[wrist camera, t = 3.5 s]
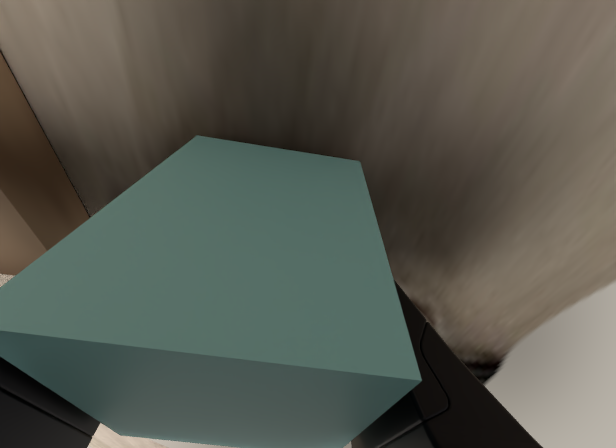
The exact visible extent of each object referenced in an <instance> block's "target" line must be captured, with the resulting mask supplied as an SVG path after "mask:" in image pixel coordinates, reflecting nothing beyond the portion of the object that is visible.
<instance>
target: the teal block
mask: <svg viewBox="0 0 616 448" xmlns="http://www.w3.org/2000/svg"><path fill="white" fill-rule="evenodd" d="M0 357H2V358H3V359H5V360H6V361H8V362H10V363H11V364H13V365H14V366H16V367H17V368H19V369H20V370H22V371H23V372H25V373H26V374H28V375H29V376H31V377H32V378H34V379H35V380H37V381H38V382H40V383H41V384H43V385H44V386H46V387H48V388H49V389H51V390H52V391H54V392H55V393H57V394H58V395H60V396H61V397H63V398H64V399H66V400H67V401H69V402H70V403H72V404H73V405H75V406H76V407H78V408H79V409H81V410H82V411H84V412H85V413H87V414H89V415H90V416H92V417H93V418H95V419H96V420H98V421H99V422H101V423H102V424H104V425H105V426H107V427H108V428H110V429H111V430H113V431H114V432H116V433H117V434H119V435H122V436H132V437H142V438H152V439H162V440H171V441H181V442H190V443H191V442H192V443H201V444H210V445H220V446H230V447H240V448H343V447H344V446H346V445H347V444H348V443H349V442H350V441H351V440H353V439H354V438H355V437H356V436H357V435H359V434H360V433H361V432H362V431H363V430H364V429H366V428H367V427H368V426H369V425H370V424H372V423H373V422H374V421H375V420H376V419H377V418H379V417H380V416H381V415H382V414H383V413H385V412H386V411H387V410H388V409H389V408H390V407H392V406H393V405H394V404H395V403H396V402H397V401H399V400H400V399H401V398H402V397H403V396H405V395H406V394H407V393H408V392H409V391H410V390H412V389H413V388H414V387H415V386H416V385H418V384H419V383H420V382H421V381H422V379H421V375H420V372H419V368H418V365H417V361H416V358H415V354H414V351H413V347H412V343H411V340H410V336H409V333H408V329H407V326H406V322H405V319H404V315H403V312H402V308H401V305H400V301H399V297H398V294H397V290H396V287H395V283H394V280H393V276H392V273H391V269H390V266H389V262H388V259H387V255H386V252H385V248H384V244H383V241H382V237H381V234H380V230H379V227H378V223H377V220H376V216H375V213H374V209H373V206H372V202H371V198H370V195H369V191H368V188H367V184H366V181H365V177H364V174H363V170H362V167H361V163H360V161H355V160H349V159H343V158H336V157H330V156H324V155H317V154H311V153H305V152H299V151H292V150H286V149H280V148H273V147H267V146H261V145H255V144H248V143H242V142H236V141H229V140H223V139H217V138H211V137H204V136H198V135H197V136H195V137H194V138H193V139H192V140H190V141H189V142H188V143H186V144H185V145H184V146H183V147H181V148H180V149H179V150H177V151H176V152H175V153H173V154H172V155H171V156H170V157H168V158H167V159H166V160H164V161H163V162H162V163H161V164H159V165H158V166H157V167H155V168H154V169H153V170H152V171H150V172H149V173H148V174H146V175H145V176H144V177H142V178H141V179H140V180H139V181H137V182H136V183H135V184H133V185H132V186H131V187H130V188H128V189H127V190H126V191H124V192H123V193H122V194H121V195H119V196H118V197H117V198H115V199H114V200H113V201H111V202H110V203H109V204H108V205H106V206H105V207H104V208H102V209H101V210H100V211H99V212H97V213H96V214H95V215H93V216H92V217H91V218H89V219H88V220H87V221H86V222H84V223H83V224H82V225H80V226H79V227H78V228H77V229H75V230H74V231H73V232H71V233H70V234H69V235H68V236H66V237H65V238H64V239H62V240H61V241H60V242H58V243H57V244H56V245H55V246H53V247H52V248H51V249H49V250H48V251H47V252H46V253H44V254H43V255H42V256H40V257H39V258H38V259H37V260H35V261H34V262H33V263H31V264H30V265H29V266H27V267H26V268H25V269H24V270H22V271H21V272H20V273H18V274H17V275H16V276H15V277H13V278H12V279H11V280H9V281H8V282H7V283H5V284H4V285H3V286H2V287H0Z"/></svg>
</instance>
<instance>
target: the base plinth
mask: <svg viewBox="0 0 616 448" xmlns="http://www.w3.org/2000/svg"><path fill="white" fill-rule="evenodd" d="M88 219H89V216H88V214H87V212H86V210H85V208H84V206H83V205H82V203H81V201H80V199H79V197H78V195H77V193H76V192H75V190H74V188H73V186H72V184H71V182H70V180H69V179H68V177H67V175H66V173H65V171H64V169H63V167H62V166H61V164H60V162H59V160H58V158H57V156H56V154H55V153H54V151H53V149H52V147H51V145H50V143H49V142H48V140H47V138H46V136H45V134H44V132H43V130H42V129H41V127H40V125H39V123H38V121H37V119H36V117H35V116H34V114H33V112H32V110H31V108H30V106H29V104H28V103H27V101H26V99H25V97H24V95H23V93H22V91H21V90H20V88H19V86H18V84H17V82H16V80H15V79H14V77H13V75H12V73H11V71H10V69H9V67H8V66H7V64H6V62H5V60H4V58H3V56H2V54H1V53H0V274H7V275H15V276H16V275H17V274H18V273H20V272H21V271H22V270H24V269H25V268H26V267H27V266H29V265H30V264H31V263H33V262H34V261H35V260H37V259H38V258H39V257H40V256H42V255H43V254H44V253H46V252H47V251H48V250H49V249H51V248H52V247H53V246H55V245H56V244H57V243H58V242H60V241H61V240H62V239H64V238H65V237H66V236H68V235H69V234H70V233H71V232H73V231H74V230H75V229H77V228H78V227H79V226H80V225H82V224H83V223H84V222H86V221H87V220H88Z"/></svg>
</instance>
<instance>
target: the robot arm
mask: <svg viewBox="0 0 616 448" xmlns="http://www.w3.org/2000/svg"><path fill="white" fill-rule="evenodd" d="M393 280H394V279H393ZM394 283H395V287H396V290H397V294H398V297H399V301H400V305H401V308H402V312H403V315H404V319H405V322H406V326H407V329H408V333H409V336H410V340H411V343H412V347H413V351H414V354H415V358H416V361H417V365H418V368H419V372H420V375H421V379H422V381H421V382H420V383H419V384H418V385H416V386H415V387H414V388H413V389H412V390H410V391H409V392H408V393H407V394H406V395H405V396H403V397H402V398H401V399H400V400H399V401H397V402H396V403H395V404H394V405H393V406H392V407H390V408H389V409H388V410H387V411H386V412H385V413H383V414H382V415H381V416H380V417H379V418H377V419H376V420H375V421H374V422H373V423H372V424H370V425H369V426H368V427H367V428H366V429H364V430H363V431H362V432H361V433H360V434H359V435H357V436H356V437H355V438H354V439H353V440H351V444H352V448H543V447H542V446H541V445H540V444H539V443H538V442H537V441H536V440H535V439H534V438H533V437H532V436H531V435H530V434H529V433H528V432H527V431H526V430H525V429H524V428H523V427H522V426H521V425H520V424H519V423H518V422H517V421H516V419H515V418H514V417H513V416H512V415H511V414H510V413H509V412H508V411H507V410H506V409H505V408H504V407H503V406H502V404H501V403H500V402H499V401H498V400H497V399H496V398H495V397H494V396H493V395H492V394H491V393H490V392H489V391H488V389H487V388H486V387H485V386H484V385H483V384H482V383H481V382H480V381H479V380H478V379H477V378H476V377H475V376H474V374H473V373H472V372H471V371H470V370H469V369H468V368H467V367H466V366H465V365H464V363H463V362H462V361H461V360H460V359H459V358H458V357H457V356H456V355H455V353H454V352H453V351H452V350H451V349H450V347H449V346H448V345H447V344H446V343H445V342H444V340H443V339H442V338H441V337H440V336H439V334H438V333H437V332H436V331H435V329H434V328H433V327H432V326H431V325H430V323H429V322H426V318H425V317H424V316H423V315H422V314H421V312H420V311H419V310H418V309H417V307H416V306H415V305H414V304H413V302H412V301H411V300H410V299H409V297H408V296H407V295H406V294H405V292H404V291H403V290H402V289H401V288H400V286H399V285H398V284H397V283H396V281H395V280H394ZM99 424H100V422H99V421H98V420H96V419H95V418H93V417H92V416H90V415H89V414H87V413H85V412H84V411H82V410H81V409H79V408H78V407H76V406H75V405H73V404H72V403H70V402H69V401H67V400H66V399H64V398H63V397H61V396H60V395H58V394H57V393H55V392H54V391H52V390H51V389H49V388H48V387H46V386H44V385H43V384H41V383H40V382H38V381H37V380H35V379H34V378H32V377H31V376H29V375H28V374H26V373H25V372H23V371H22V370H20V369H19V368H17V367H16V366H14V365H13V364H11V363H10V362H8V361H6V360H5V359H3V358H2V357H0V448H87V447H88V445H89V443H90V441H91V439H92V436H93V435H94V433H95V432H96V430H97V428H98V426H99Z"/></svg>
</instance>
